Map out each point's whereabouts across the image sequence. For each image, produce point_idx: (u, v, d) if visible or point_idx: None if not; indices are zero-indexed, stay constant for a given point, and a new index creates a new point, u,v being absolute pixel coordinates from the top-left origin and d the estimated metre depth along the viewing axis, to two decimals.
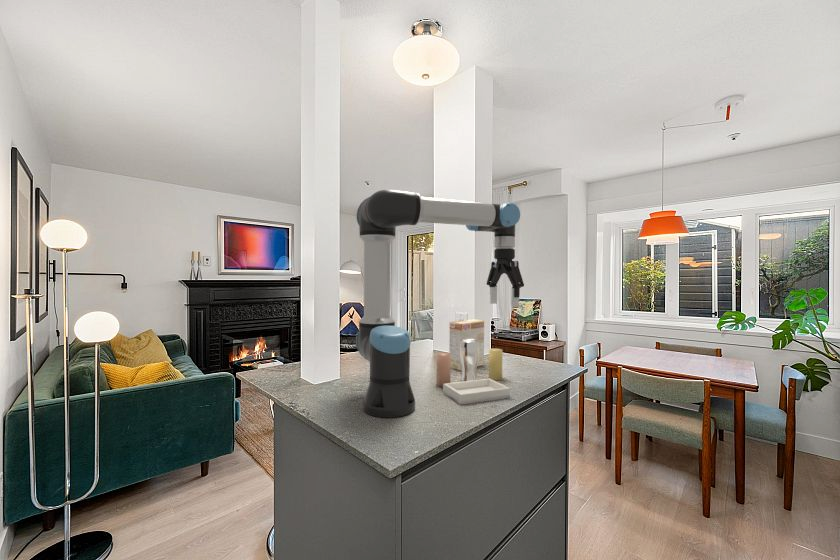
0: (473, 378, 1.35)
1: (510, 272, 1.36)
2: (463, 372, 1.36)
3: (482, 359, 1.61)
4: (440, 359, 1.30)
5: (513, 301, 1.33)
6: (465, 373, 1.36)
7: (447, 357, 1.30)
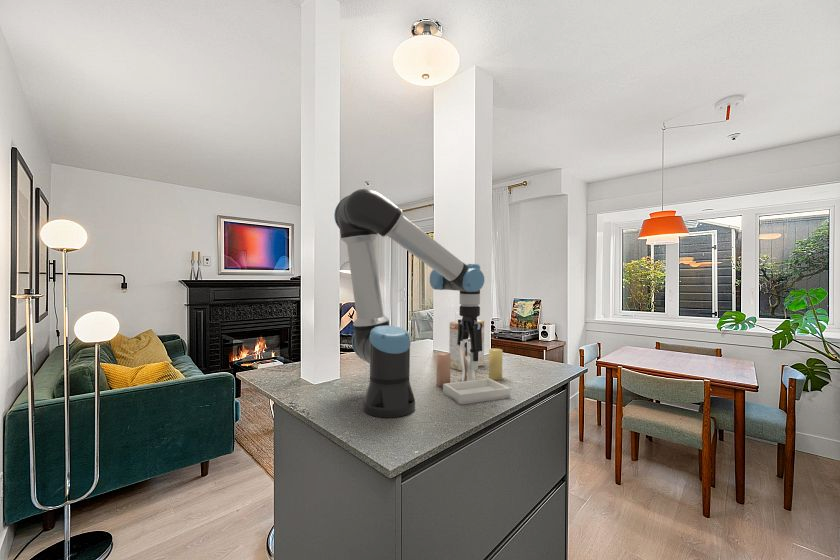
0: (473, 378, 1.35)
1: (473, 333, 1.34)
2: (463, 372, 1.36)
3: (482, 359, 1.61)
4: (440, 359, 1.30)
5: (472, 364, 1.34)
6: (465, 373, 1.36)
7: (447, 357, 1.30)
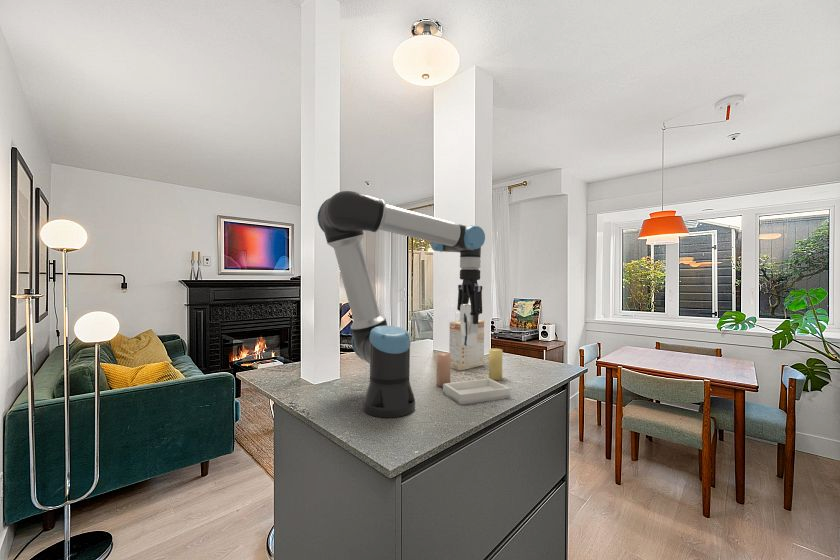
0: (473, 341, 1.35)
1: (473, 296, 1.34)
2: (463, 336, 1.36)
3: (482, 359, 1.61)
4: (440, 359, 1.30)
5: (472, 327, 1.33)
6: (465, 336, 1.35)
7: (447, 357, 1.30)
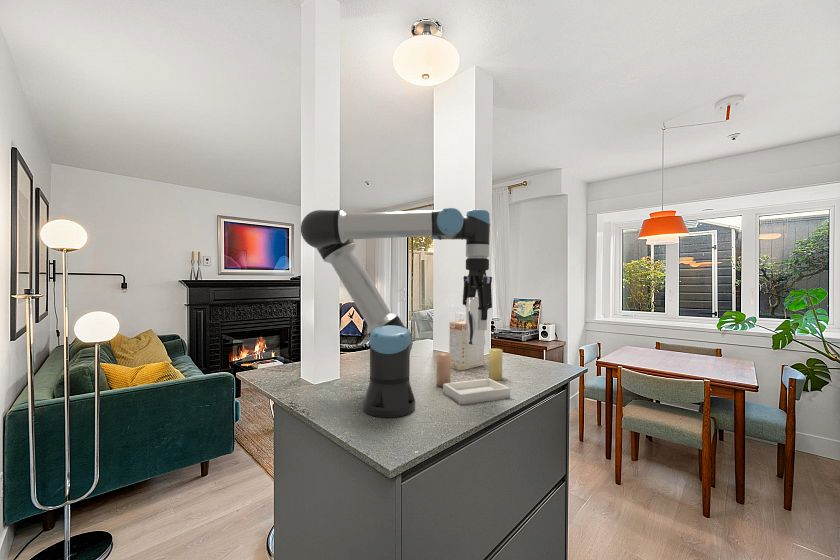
0: (481, 340, 1.19)
1: (481, 288, 1.18)
2: (470, 333, 1.20)
3: (482, 359, 1.61)
4: (440, 359, 1.30)
5: (481, 324, 1.17)
6: (472, 334, 1.19)
7: (447, 358, 1.30)
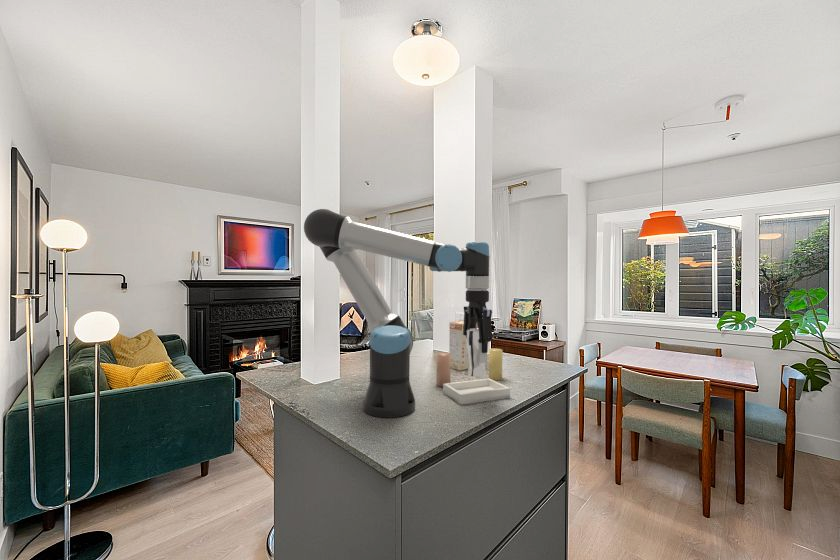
0: (482, 372, 1.19)
1: (481, 321, 1.18)
2: (470, 365, 1.20)
3: None
4: (440, 359, 1.30)
5: (481, 357, 1.17)
6: (473, 366, 1.19)
7: (447, 358, 1.30)
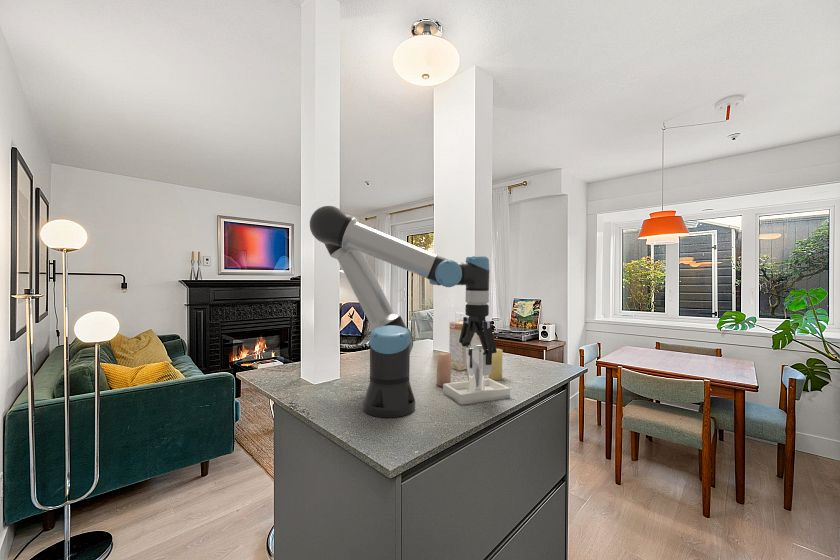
0: (481, 390, 1.19)
1: (482, 333, 1.17)
2: (470, 383, 1.20)
3: None
4: (441, 359, 1.30)
5: (485, 369, 1.15)
6: (472, 384, 1.19)
7: (447, 357, 1.30)
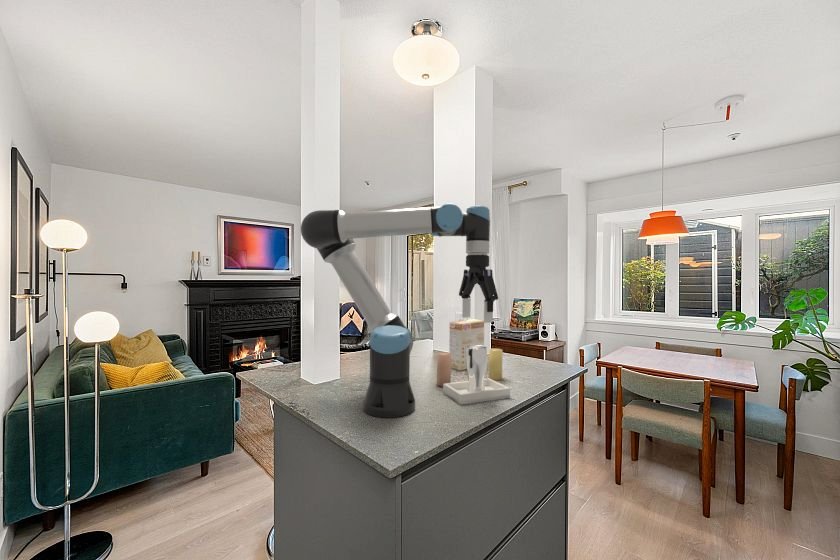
0: (481, 390, 1.19)
1: (483, 282, 1.17)
2: (470, 383, 1.20)
3: None
4: (441, 359, 1.30)
5: (486, 316, 1.14)
6: (472, 384, 1.19)
7: (447, 357, 1.30)
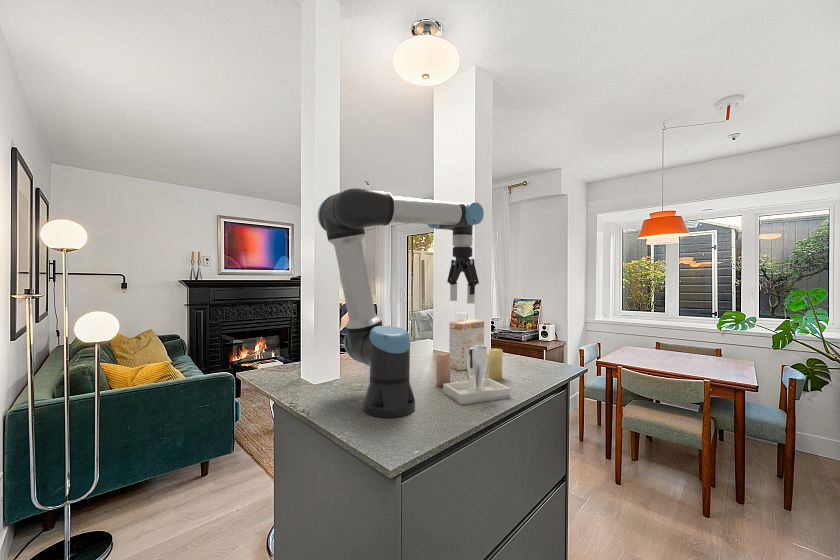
0: (481, 390, 1.19)
1: (467, 270, 1.38)
2: (470, 383, 1.20)
3: None
4: (439, 359, 1.30)
5: (469, 298, 1.36)
6: (472, 384, 1.19)
7: (446, 358, 1.30)
